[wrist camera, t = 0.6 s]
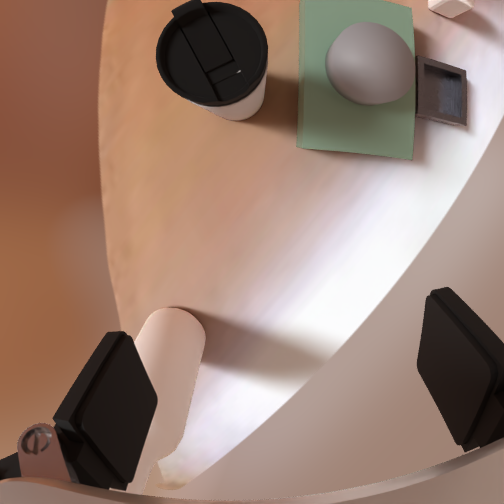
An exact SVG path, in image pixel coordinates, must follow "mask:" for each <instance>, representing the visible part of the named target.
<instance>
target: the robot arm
mask: <svg viewBox="0 0 504 504" xmlns="http://www.w3.org/2000/svg"><path fill="white" fill-rule="evenodd" d="M417 368H418V372H419V374H420V375H421V377H422V379H423V381H424V383H425V385H426V386H427V388H428V390H429V392H430V394H431V396H432V397H433V399H434V401H435V403H436V405H437V407H438V409H439V411H440V413H441V415H442V417H443V418H444V421H445V423H446V425H447V426H448V429H449V430H450V433H451V435H452V436H453V439H454V441H455V443H456V444H457V445H461V446H462V448H463V450H464V452H467V451H470V450H472V449H474V448H476V447H480V448H479V449H477V450H475V451H472V452H470V453H468V454H465V455H462V456H460V457H457V458H455V459H452V460H449V461H446V462H444V463H441V464H438V465H435V466H432V467H430V468H427V469H424V470H420V471H417V472H414V473H411V474H408V475H404V476H401V477H397V478H393V479H390V480H386V481H382V482H378V483H374V484H369V485H365V486H360V487H355V488H350V489H345V490H340V491H334V492H328V493H322V494H315V495H307V496H300V497H289V498H280V499H279V498H278V499H264V500H236V501H235V500H234V501H219V500H216V501H215V500H213V501H212V500H190V499H189V500H187V499H175V498H163V497H155V496H146V495H139V494H132V493H126V492H119V491H113V490H109V489H110V488H111V489H117V490H122V491H126V489H127V486H128V483H131V482H132V481H133V479H134V476H135V473H136V470H137V466H138V463H139V460H140V457H141V454H142V450H143V447H144V444H145V441H146V438H147V435H148V432H149V429H150V425H151V422H152V419H153V416H154V413H155V410H156V407H157V404H158V397H157V394H156V392H155V389H154V387H153V385H152V383H151V381H150V379H149V376H148V374H147V372H146V370H145V367H144V365H143V363H142V360H141V358H140V356H139V353H138V351H137V349H136V346H135V344H134V341H133V339H132V337H131V336H129V335H127V334H126V333H125V332H124V331H118V332H107V333H106V335H105V336H104V337H103V339H102V340H101V342H100V343H99V345H98V346H97V348H96V349H95V351H94V353H93V354H92V356H91V357H90V359H89V360H88V362H87V363H86V365H85V366H84V368H83V369H82V371H81V373H80V374H79V376H78V377H77V379H76V380H75V382H74V384H73V385H72V387H71V388H70V390H69V392H68V393H67V395H66V397H65V398H64V400H63V401H62V403H61V405H60V407H59V408H58V410H57V412H56V413H55V415H54V417H53V420H54V421H55V423H56V424H55V426H54V428H53V427H52V426H51V425H50V424H46V423H38V424H34V425H32V426H30V427H28V428H27V429H26V430H25V431H24V432H23V433H22V434H21V436H20V437H19V440H18V443H17V450H18V452H16V453H14V454H12V455H10V456H8V457H6V458H3V459H1V460H0V504H504V343H503V342H502V341H501V340H500V339H499V338H498V336H497V335H496V334H495V333H494V332H493V331H492V330H491V329H490V328H489V327H488V326H487V325H486V324H485V323H484V322H483V320H482V319H481V318H480V317H479V316H478V315H477V314H476V313H475V312H474V311H473V310H472V309H471V308H470V307H469V306H468V305H467V304H466V303H465V302H464V301H463V300H462V299H461V298H460V297H459V296H458V295H457V294H456V293H455V292H454V291H453V290H452V289H450V288H449V287H444V288H440V289H435V290H432V291H431V293H430V296H427V298H426V302H425V311H424V319H423V327H422V334H421V341H420V347H419V353H418V359H417Z"/></svg>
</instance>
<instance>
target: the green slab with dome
mask: <svg viewBox="0 0 504 504" xmlns="http://www.w3.org/2000/svg"><path fill="white" fill-rule="evenodd" d="M414 126H415V48H414V31H413V19H412V8H409V7H406V6H402V5H399V4H395V3H391V2H387V1H383V0H301V1H300V4H299V90H298V123H297V147H299V148H304V149H318V150H331V151H342V152H352V153H361V154H370V155H379V156H386V157H394V158H401V159H408V160H412V158H413V144H414Z"/></svg>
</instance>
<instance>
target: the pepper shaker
mask: <svg viewBox="0 0 504 504" xmlns="http://www.w3.org/2000/svg"><path fill="white" fill-rule="evenodd" d="M473 6H474V0H428V8H429V9H430V10H431V11H434V12H436V13H439V14H441V15H443V16H446V17H448V18H453V17H455V16H457V15H459V14H461V13H463V12H466V11H468V10H470V9H472V8H473Z"/></svg>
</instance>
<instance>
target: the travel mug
mask: <svg viewBox="0 0 504 504" xmlns="http://www.w3.org/2000/svg"><path fill="white" fill-rule="evenodd" d="M172 13H173V15H174V18H173V19H172V20H171V21H170V22H169V23H168V24H167V25H166V27H165V28H164V29H163V31H162V33H161V35H160V37H159V40H158V44H157V47H156V62H157V68H158V70H159V73H160V75H161V77H162V79H163V80H164V82H165V83H166V85H167V86H168V87H169V88H171V89H172V90H173V91H174V92H175V93H177V94H178V95H180V96H181V97H183V98H185V99H187V100H188V101H190V102H191V103H194V104H196V105H198V106H200V107H202V108H204V109H206V110H208V111H210V112H212V113H214V114H216V115H218V116H220V117H222V118H224V119H227V120H231V121H240V120H244V119H247V118H249V117H251V116H253V115H254V114H255V113H256V112H257V111H258V110H259V109H260V107H261V105H262V103H263V100H264V94H265V85H266V76H267V66H268V45H267V39H266V36H265V33H264V31H263V28H262V27H261V25H260V24H259V23H258V21H257V20H256V19H255V18H254V17H253V16H252V15H251V14H250V13H248V12H247V11H245V10H243V9H242V8H240V7H237V6H235V5H232V4H228V3H222V2H208V3H202V2H201V0H191V1H189V2H186V3H184V4H182V5H180V6H179V7H177V8H175V9H173V10H172Z"/></svg>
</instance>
